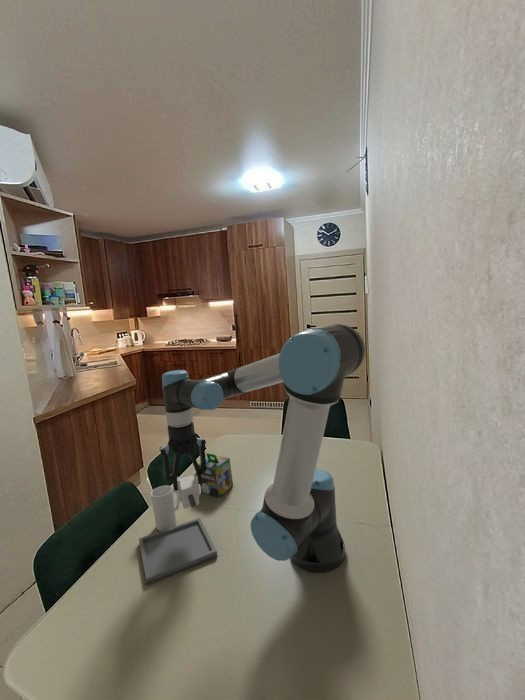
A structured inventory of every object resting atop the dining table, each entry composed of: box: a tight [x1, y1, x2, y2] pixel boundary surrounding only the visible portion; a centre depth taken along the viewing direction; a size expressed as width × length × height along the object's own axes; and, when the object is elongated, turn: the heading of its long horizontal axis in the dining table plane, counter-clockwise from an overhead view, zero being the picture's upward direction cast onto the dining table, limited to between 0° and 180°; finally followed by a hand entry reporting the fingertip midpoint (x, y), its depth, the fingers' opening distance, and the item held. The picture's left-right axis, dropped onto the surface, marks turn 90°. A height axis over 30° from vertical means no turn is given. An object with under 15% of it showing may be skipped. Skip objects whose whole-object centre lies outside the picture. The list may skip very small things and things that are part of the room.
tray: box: [138, 517, 218, 586], centre depth 101 cm, size 18×19×2 cm
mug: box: [150, 485, 181, 532], centre depth 114 cm, size 10×7×12 cm, turn 144°
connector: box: [179, 474, 200, 509], centre depth 104 cm, size 15×5×6 cm, turn 22°
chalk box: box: [198, 453, 234, 498], centre depth 132 cm, size 9×9×15 cm
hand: (189, 496), depth 105 cm, fingers closed on connector, 5 cm apart
